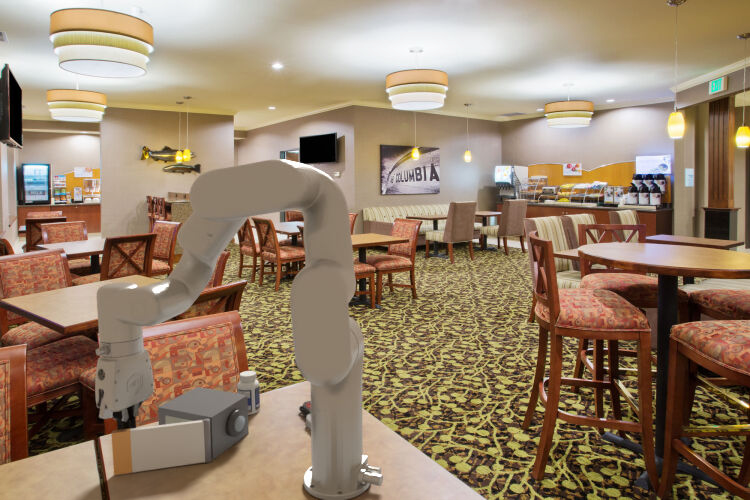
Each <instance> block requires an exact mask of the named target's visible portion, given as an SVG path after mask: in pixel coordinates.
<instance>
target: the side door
mask: <svg viewBox="0 0 750 500" xmlns="http://www.w3.org/2000/svg"><path fill="white" fill-rule="evenodd" d="M111 447H112V460H113V463H112V465H113V475H114V476H117V475H118V476H119V475H125V474H132V473H137V472H138V473H139V472H145V471H152V470H158V469H166V468H173V467H178V466H179V467H181V466H185V465H188V466H189V465H195V464H201V463H207V464H208V463H211V462H212V461H213V460H212V459H211V434H210V419H203V420H198V421H190V422H181V423H173V424H165V425H159V424H157V425H150V426H141V427H136V428H132V429H123V430H117V429H115V430H112V431H111Z"/></svg>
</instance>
